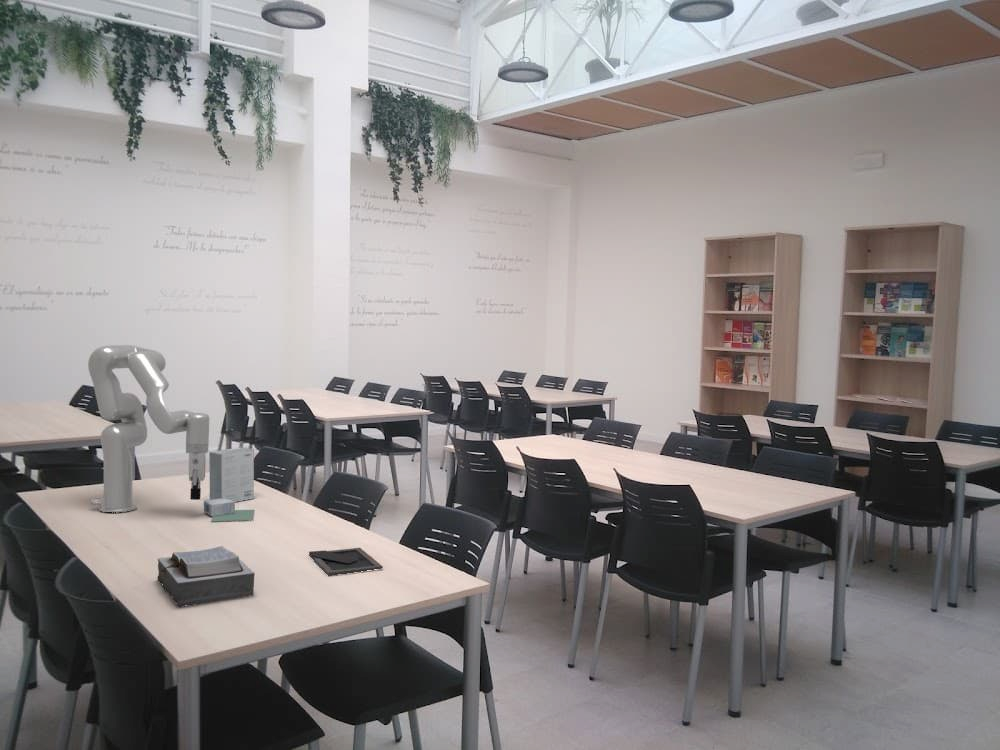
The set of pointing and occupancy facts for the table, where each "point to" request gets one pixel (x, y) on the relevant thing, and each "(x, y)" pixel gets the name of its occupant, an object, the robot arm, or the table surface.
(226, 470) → the hard drive box
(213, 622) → the table surface
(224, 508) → the medicine box
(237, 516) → the felt pad
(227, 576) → the book on foam base
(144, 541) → the table surface
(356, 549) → the picture frame
